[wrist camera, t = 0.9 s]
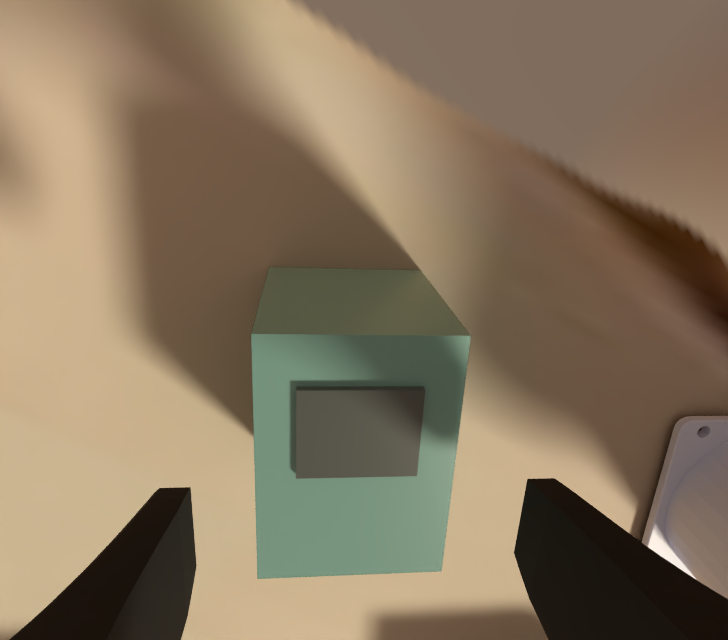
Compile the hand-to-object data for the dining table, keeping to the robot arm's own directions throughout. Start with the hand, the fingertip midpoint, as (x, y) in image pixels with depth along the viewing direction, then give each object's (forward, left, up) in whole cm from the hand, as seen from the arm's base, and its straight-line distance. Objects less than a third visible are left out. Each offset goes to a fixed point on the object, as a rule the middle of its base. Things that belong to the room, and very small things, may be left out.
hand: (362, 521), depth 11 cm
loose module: (0, 0, -8) cm, 8 cm away
